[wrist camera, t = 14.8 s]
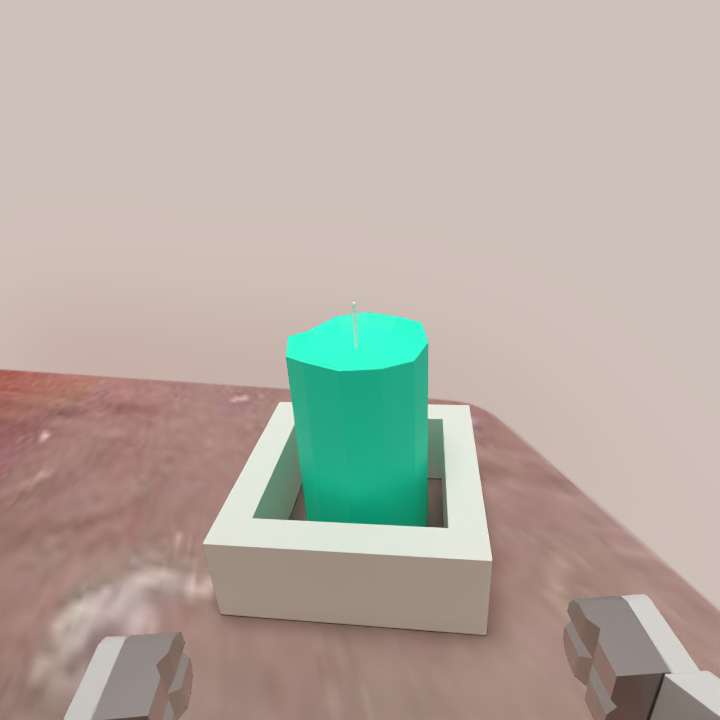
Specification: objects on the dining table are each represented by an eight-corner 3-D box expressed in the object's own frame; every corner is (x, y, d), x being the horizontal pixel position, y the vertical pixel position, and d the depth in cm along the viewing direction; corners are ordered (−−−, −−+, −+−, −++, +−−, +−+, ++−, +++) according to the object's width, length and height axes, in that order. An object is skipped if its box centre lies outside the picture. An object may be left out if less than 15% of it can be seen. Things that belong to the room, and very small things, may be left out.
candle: (399, 478, 28) (394, 275, 23) (448, 554, 23) (456, 313, 18) (298, 504, 27) (269, 293, 21) (325, 592, 21) (295, 341, 16)
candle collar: (220, 614, 21) (202, 544, 19) (287, 457, 30) (279, 402, 29) (486, 635, 19) (492, 561, 17) (466, 463, 29) (468, 405, 27)
